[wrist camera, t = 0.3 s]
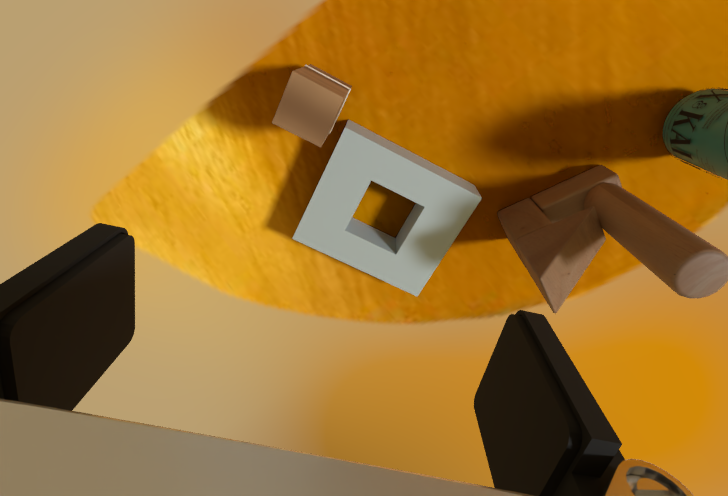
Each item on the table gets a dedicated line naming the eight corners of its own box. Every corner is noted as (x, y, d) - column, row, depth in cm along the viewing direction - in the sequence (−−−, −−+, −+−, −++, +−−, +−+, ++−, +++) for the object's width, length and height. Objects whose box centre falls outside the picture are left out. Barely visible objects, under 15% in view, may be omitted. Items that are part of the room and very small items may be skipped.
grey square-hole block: (348, 119, 42) (345, 127, 39) (474, 184, 44) (482, 197, 41) (299, 223, 47) (292, 238, 43) (414, 277, 49) (417, 296, 46)
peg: (312, 62, 40) (291, 69, 31) (354, 84, 41) (345, 97, 32) (295, 104, 42) (270, 123, 33) (334, 125, 42) (321, 148, 33)
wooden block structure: (495, 210, 45) (556, 307, 29) (600, 162, 43) (732, 238, 27) (508, 240, 47) (573, 347, 31) (611, 194, 44) (742, 286, 28)
